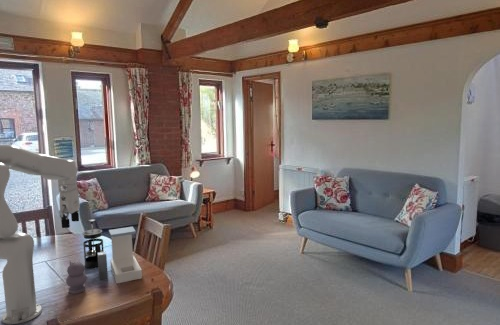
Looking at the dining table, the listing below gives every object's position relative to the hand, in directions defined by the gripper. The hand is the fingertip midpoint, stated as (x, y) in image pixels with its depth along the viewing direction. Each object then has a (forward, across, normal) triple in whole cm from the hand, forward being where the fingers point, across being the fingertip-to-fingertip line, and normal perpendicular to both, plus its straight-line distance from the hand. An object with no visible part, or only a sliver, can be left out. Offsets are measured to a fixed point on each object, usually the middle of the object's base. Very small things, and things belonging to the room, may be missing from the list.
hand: (70, 224), depth 166 cm
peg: (+24, -5, -15) cm, 29 cm away
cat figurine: (+24, -15, -7) cm, 30 cm away
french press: (+24, +11, -5) cm, 27 cm away
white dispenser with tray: (+24, +1, -23) cm, 33 cm away
